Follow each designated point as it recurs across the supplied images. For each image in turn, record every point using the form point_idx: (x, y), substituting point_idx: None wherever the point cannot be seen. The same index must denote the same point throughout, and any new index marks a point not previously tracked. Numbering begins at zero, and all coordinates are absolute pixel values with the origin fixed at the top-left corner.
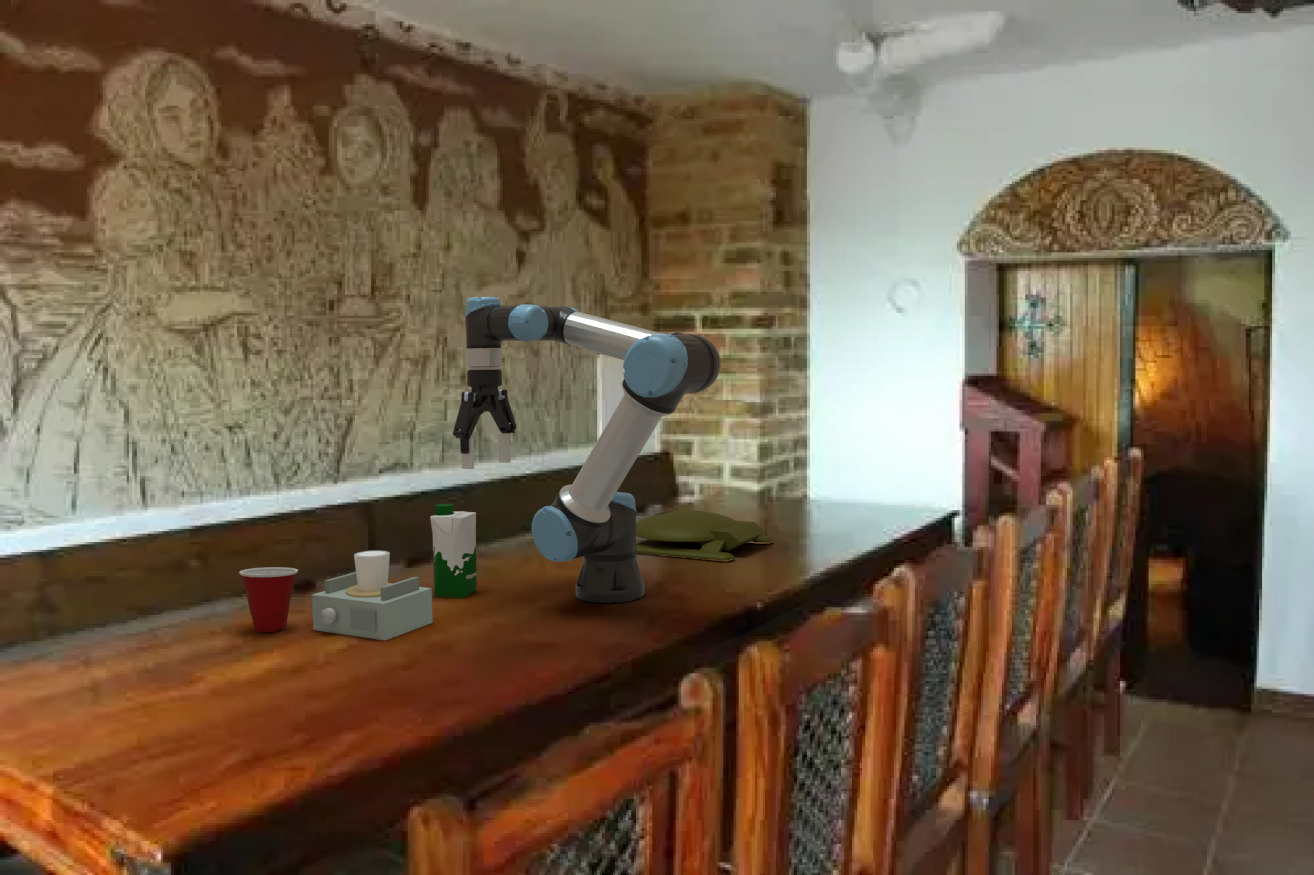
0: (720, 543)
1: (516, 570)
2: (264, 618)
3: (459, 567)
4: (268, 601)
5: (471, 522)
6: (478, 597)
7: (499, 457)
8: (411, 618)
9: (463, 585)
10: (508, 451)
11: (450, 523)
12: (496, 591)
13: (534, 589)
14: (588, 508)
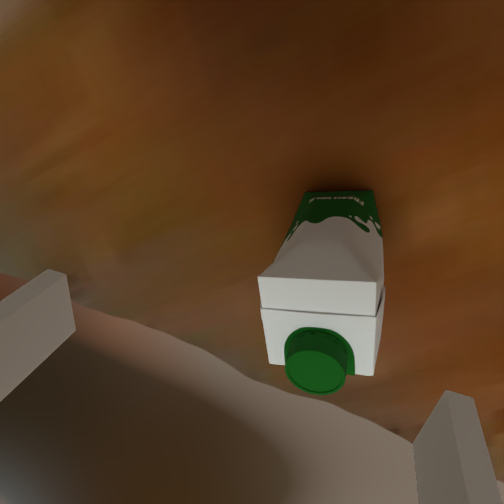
0: None
1: (124, 183)
2: None
3: (374, 226)
4: None
5: (314, 262)
6: (359, 164)
7: (54, 343)
8: None
9: (371, 202)
10: (2, 317)
11: (381, 308)
12: (298, 148)
13: (258, 67)
14: None
